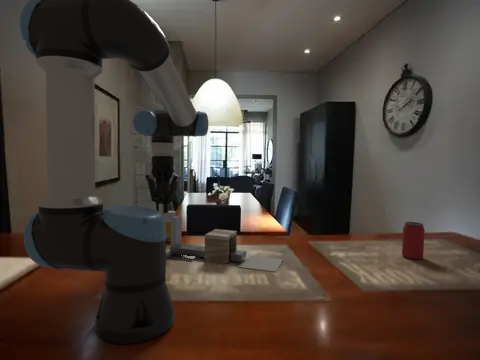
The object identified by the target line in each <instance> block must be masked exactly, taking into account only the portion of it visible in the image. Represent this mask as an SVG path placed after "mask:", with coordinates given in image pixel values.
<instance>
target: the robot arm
mask: <svg viewBox="0 0 480 360" xmlns="http://www.w3.org/2000/svg"><path fill="white" fill-rule="evenodd" d="M19 28H20V34H21V37H22V40H24V41H26V42H25V46H26V48H27V50H28V51H29V52H30V53H31V55H33V56H34V57H35V58H36V59H35V62H36V64H37V65H38V67H40V69H42V70H43V71H44V73H45V108H46V111H45V112H46V115H45V117H46V121H45V122H46V174H47V175H46V176H47V177H46V181H47V182H46V183H47V187H46V189H47V195H46V196H45V198H44V199H43V200H42V201H40V202H39V203H38V211H37V212H36V213H34V214H33V215H32V216H31V217H30V218H29V220H28V223H29V224H26V225H25V227H24V231H23V244H24V249H25V251H26V253H27V256H28V257H29V258H30V259H31V260H32V261H33V262H34V263H35V264H37V265H38V266H40V267H44V268H50V269H54V270H58V271H59V270H69V271H70V270H72V271H73V270H74V271H86V272H87V271H89V272H103V273H104V289H103V294H102V297H101V300H100V302H99V305H98V309H97V312H96V315H95V321H94V323H95V325H94V326H95V328H94V329H95V334H96V336H97V337H98V338H99V339H101V340H102V341H105V342H107V343H110V344H117V345H118V344H119V345H123V344H124V345H128V344H137V343H143V342H147V341H149V340H152V339H155V338H157V337H159V336H161V335H163V334H164V333H166V332H167V331H168V330H169V329H170V328H171V327H172V326H173V324H174V322H175V313H176V312H175V306H174V303H173V301H172V297H171V294H170V292H169V289H168V286H167V285H168V284H167V282H166V281H167V278H166V275H167V269H166V267H167V258H166V253H167V241H166V237H167V233H166V228H165V222H167V213H168V211H170V210H169V209H170V208H169V207H170V206H169V205H170V204H171V203H173V202H174V201H175V196H176V192H177V187H178V183H179V181H180V179H181V176H180V175H178V174H176V173H175V170H174V165H175V164H174V163H175V162H174V158H175V157H174V143H175V142H174V137H193V138H194V137H195V138H196V137H204V136H206V135H207V134H208V131H209V116H208V114H207V113H206V112H205V111H199V110H198V111H197V110H196V108H195V107H194V105H193V101H191V98H190V95H189V94H188V91H187V90H186V88H185V85H184V84H183V82H182V80H181V78H180V75H179V73H178V71H177V69H176V67H175V66H174V63H173V61H172V58H171V57H170V55H171V47H170V44H169V42H168V39H167V38H166V35H165V34H164V32H163V31H162V28H160V26H159V25H158V24H157V22H156V21H154V19H153V18H152V17H151V16H150V15H149V13H147V12H146V11H145V10H144V9H143V8H141V7H140V6H139V5H138V4H136V3H135V2H133V1H132V0H28V1H27V2H26V3H25V4H24V6H23V8H22V10H21V12H20V18H19ZM106 59H107V60H108V59H120V60H124V61H126V62H127V63H128V65H129V66H130V67H131V69H133V70H134V71H136V72H139V73H140V74H141V76H142V78H144V80H145V83H147V85H148V86H149V87H150V89H151V91H152V92H153V94H154V96H155V97H156V98H157V100H158V101H159V103H160V104H161V106H162V107H163V108H164V109H154V110H152V111H151V110H147V109H145V110H140V111H138V112H137V113H135V115H134V117H133V120H132V125H133V128H134V130H135V131H136V132H137V133H138V134H140V135H143V136H144V137H151V147H150V148H151V151H150V152H151V155H152V156H151V167H152V169H151V170H150V173H148V174H145V175H144V177H145V180H146V181H147V184H148V185H147V186H148V191H149V194H150V198H151V201H152V202H154V203H155V204H156V209H153V208H150V207H145V206H139V205H132V204H131V205H123V204H119V205H118V204H117V205H112V206H108V207H106V208H105V209H104V201H103V200H102V199H101V198H100V197H98V196H97V194H96V138H95V137H96V126H95V125H96V123H95V121H96V118H95V114H96V113H95V110H96V109H95V101H96V99H95V93H96V91H95V80H96V78H97V77H99V76H100V75H101V74H103V61H104V60H106Z"/></svg>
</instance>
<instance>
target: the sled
mask: <svg viewBox="0 0 480 360" xmlns="http://www.w3.org/2000/svg"><path fill="white" fill-rule="evenodd" d="M182 223H183V222H182V216H181V215H175V216H174V217H171V241H170V247H169V251H170V253H171V254H179V255H187V256H195V257H197V258H204V259H205V245H204V246H202V245H196V244H195V245H194V244H186V243H182V225H183V224H182ZM246 258H247V250H241V249H239V250H238V249H237V250H232V249H230V239H229V262H230V261H231V262H239V263H242V262H243V261H244V260H245V259H246Z"/></svg>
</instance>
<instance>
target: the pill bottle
mask: <svg viewBox="0 0 480 360" xmlns="http://www.w3.org/2000/svg"><path fill="white" fill-rule="evenodd" d="M176 212H177V211H175V210H169V211H168V213H167V222H165V228H166V233H167V237H166V242H171V217H174V216H177V215H176Z"/></svg>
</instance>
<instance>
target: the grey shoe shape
mask: <svg viewBox="0 0 480 360" xmlns="http://www.w3.org/2000/svg"><path fill="white" fill-rule="evenodd" d="M182 256H183V255H182ZM182 256H181V255H179V254H171V253H170V250H169V251H168V252H167V251H166V259H167V258H168V259H167V260H175V259H177V261H183V260H187V261H186V262H193V261H194V260H193V259H190V258H189V259H188V258H185V257H184V256H183V257H184V258H183V257H182ZM192 260H193V261H192Z"/></svg>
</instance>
